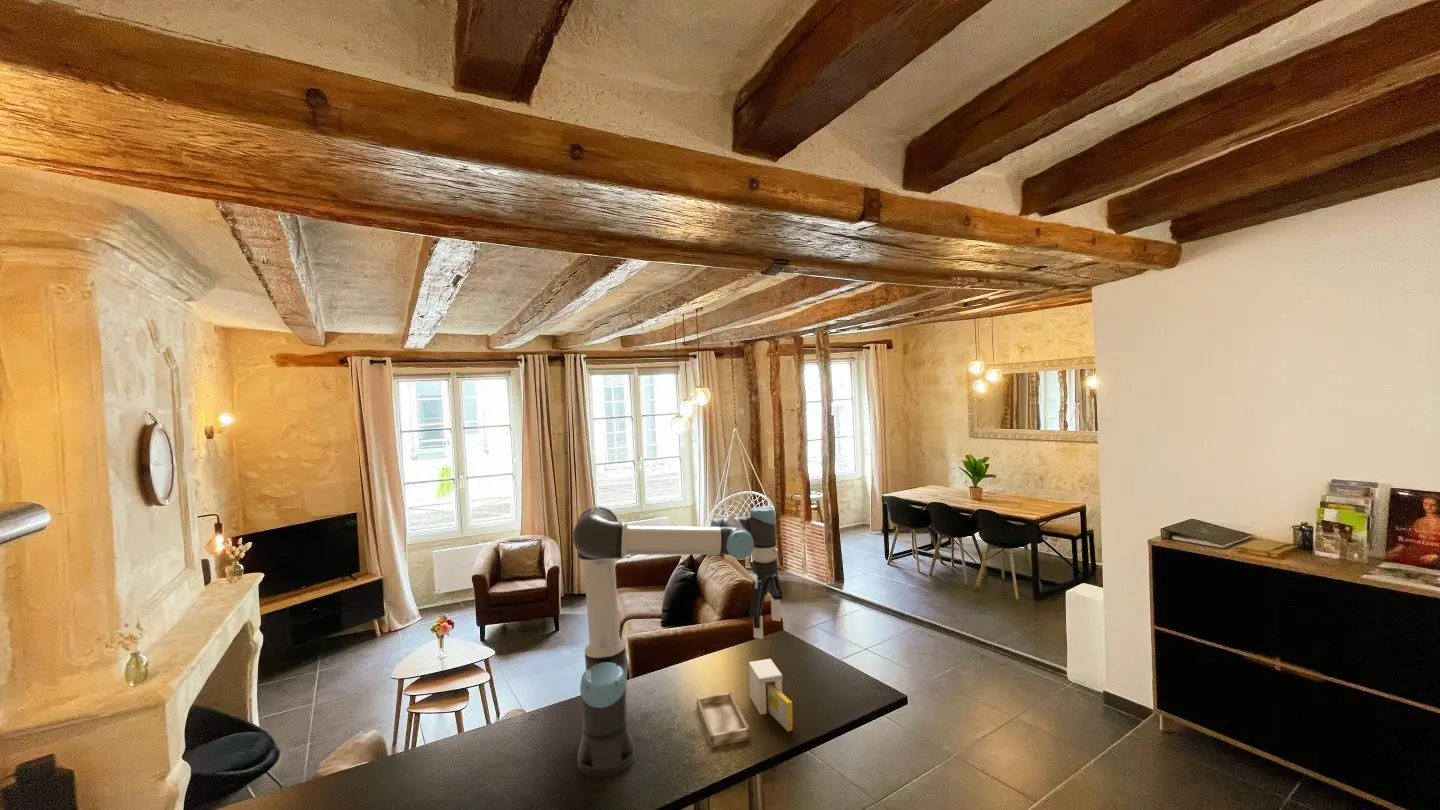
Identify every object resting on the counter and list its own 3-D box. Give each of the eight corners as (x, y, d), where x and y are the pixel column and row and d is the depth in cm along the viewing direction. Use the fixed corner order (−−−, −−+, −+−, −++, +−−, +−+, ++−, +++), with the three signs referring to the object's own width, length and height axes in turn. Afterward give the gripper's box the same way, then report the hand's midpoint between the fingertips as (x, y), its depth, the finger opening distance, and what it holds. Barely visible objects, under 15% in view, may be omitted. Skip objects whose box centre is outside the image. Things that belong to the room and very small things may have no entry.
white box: (761, 716, 166) (759, 679, 166) (750, 697, 177) (748, 662, 177) (783, 712, 168) (782, 675, 168) (771, 693, 179) (770, 658, 178)
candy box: (793, 730, 159) (792, 701, 159) (787, 732, 158) (786, 703, 158) (766, 702, 174) (765, 676, 174) (760, 704, 173) (759, 677, 173)
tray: (711, 747, 153) (711, 736, 153) (696, 707, 172) (696, 698, 172) (749, 739, 155) (749, 729, 155) (731, 701, 175) (730, 692, 175)
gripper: (759, 573, 156) (762, 648, 156) (791, 549, 178) (793, 615, 178) (735, 570, 159) (738, 643, 160) (769, 546, 181) (772, 611, 182)
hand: (767, 628), depth 169 cm, fingers open, 13 cm apart
